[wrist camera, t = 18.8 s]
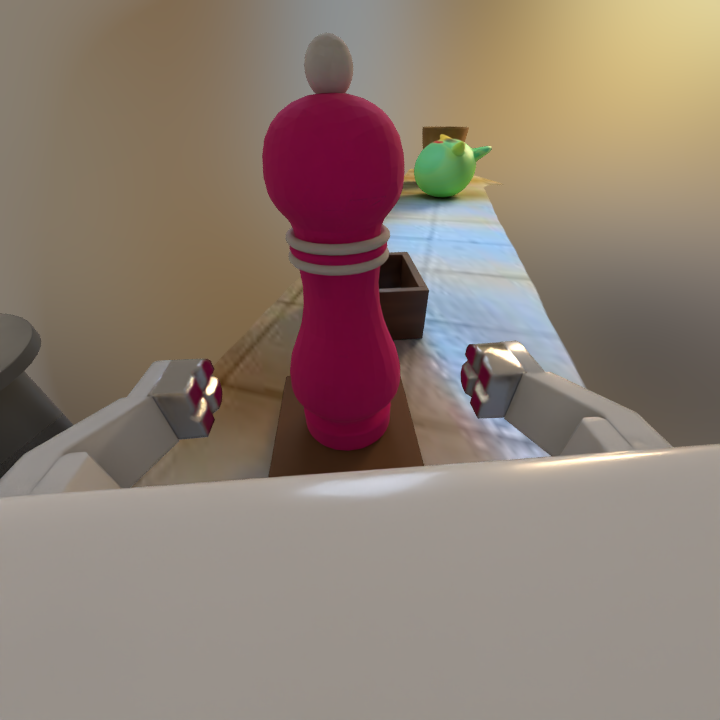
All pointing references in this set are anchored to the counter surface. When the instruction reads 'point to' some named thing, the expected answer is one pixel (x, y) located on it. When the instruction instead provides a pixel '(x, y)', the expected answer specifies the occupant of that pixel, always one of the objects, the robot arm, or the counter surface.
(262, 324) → the counter surface
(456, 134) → the plant pot
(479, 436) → the counter surface
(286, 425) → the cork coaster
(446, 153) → the toy bird
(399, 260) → the mill holder
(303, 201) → the pepper mill
